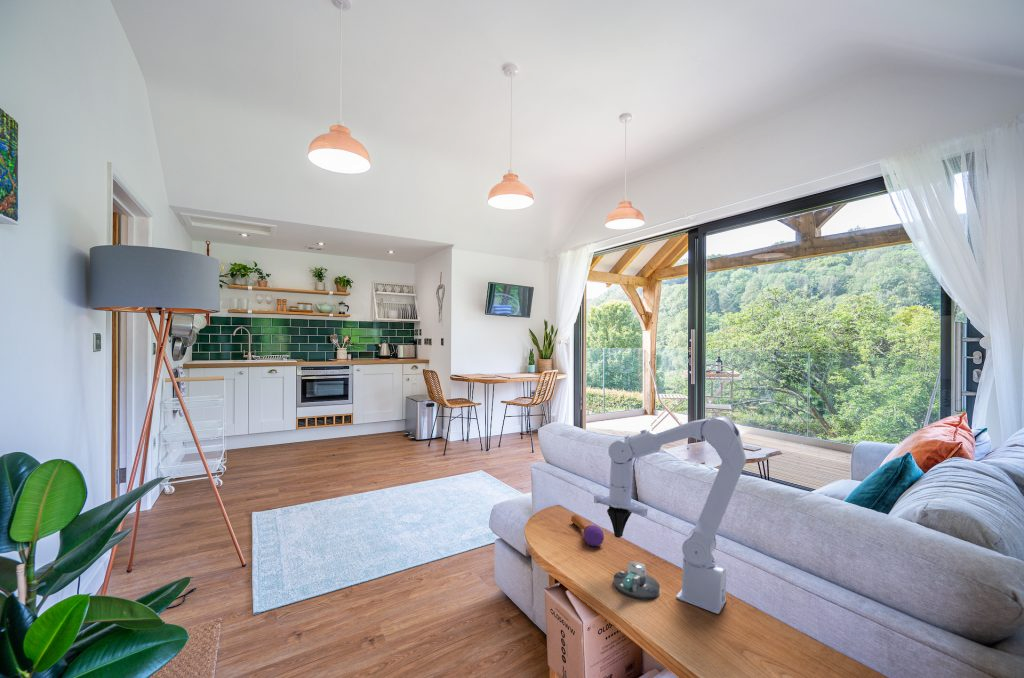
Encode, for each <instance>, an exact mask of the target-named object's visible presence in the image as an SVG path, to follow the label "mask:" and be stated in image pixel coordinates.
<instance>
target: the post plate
mask: <svg viewBox="0 0 1024 678" xmlns="http://www.w3.org/2000/svg"><path fill="white" fill-rule="evenodd" d="M627 574H628V570H620V571H618V572H616V573H615V574H614V576H613V586H614V588H615V590H616V591H617V592H619V593H620V594H622V596H625V597H628V598H630V599H634V600H638V601H639V600H640V601H652V600H654V599H656V598H658V597H659V596H660V590H661V589H660V583H659V582H658V581H657V579H655V578H654V577H652V576H650V575H649V574H646V583H645V584H643V585H640V576H638V575H636V576H635V577H634V578H633V586H632V588H631V590H625V589H623V580H624V578H626V577H627Z"/></svg>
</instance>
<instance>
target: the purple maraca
mask: <svg viewBox="0 0 1024 678" xmlns="http://www.w3.org/2000/svg"><path fill="white" fill-rule="evenodd" d="M570 521H572V522H573V523H574V524H575V525H574V524H573V523H572V522H571V523H572V524H573V525H574V526H576V525H577V526H576V527H578V528H580V529H581V530H583V538H584V541H585V543H586V544H587V545H589V546H590V545H591V546H590V547H593V546H596V547H599V546H601V545H602V544H603V543H604V539H605V535H604V531H603V530H602V529H601V527H600V526H598V525H595V524H592V525H586V523H585V522H584V521H583V520H582V518H581V517H580V515H578V514H573V515H572V516H571V517H570Z"/></svg>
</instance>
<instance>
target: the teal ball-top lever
mask: <svg viewBox="0 0 1024 678" xmlns="http://www.w3.org/2000/svg"><path fill="white" fill-rule="evenodd" d="M627 571H628V574H627V577H626V578H624V580H623V589H625V590H631V588H632V586H633V578H634V577H635V576H636V575H638V576H640V585H643V584H645V583H646V575H647V565H646V564H644V563H643V562H639V561H632V560H631V561H629V562H628V563H627Z"/></svg>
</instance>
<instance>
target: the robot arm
mask: <svg viewBox="0 0 1024 678" xmlns="http://www.w3.org/2000/svg"><path fill="white" fill-rule="evenodd" d="M690 438H693V439H695V440H698V441H702V440H705V441H706V442H707V443H708V444H709V445H710V446H711V447H712V448H713V449H715V452H716V453H717V454H718V456H719V458H720V460H721V464H720V466H719V468H718V471H717V474H716V476H715V478H714V481H713V483H712V485H711V488H710V491H709V493H708V495H707V498H706V501H705V503H704V506H703V508H702V510H701V512H700V515H699V517H698V519H697V522H696V524H695V527H694V528H692V529H691V530H690V532H689V534H688V536H687V538H686V539H685V540H684V542H683V543H682V546H681V551H682V554H683V555H682V577H681V580H682V583H681V589H680V591H679V592H678V593H677V594H676V595H675V598H676V599H678V600H680V601H682V602H685V603H688V604H689V605H690V604H691V605H692V606H695V607H698V608H701V609H704V610H706V611H709V612H711V613H713V614H717V615H719V614H720V612H721V611H722V609H723V607H724V605H725V603H726V601H727V599H726V596H727V595H726V594H727V571H726V569H725V568H724V567H721V566H719V565H717V564H716V562H717V561H716V559H715V557H714V556H713V552H714V551H715V549H716V547H717V539H716V538H717V537H716V536H717V533H718V530H719V528H720V525H721V522H722V520H723V518H724V515H725V513H726V511H727V508H728V505H729V504H730V501H731V498H732V496H733V495H734V493H735V492H734V491H735V489H736V486H737V484H738V481H739V480H740V477H741V474H742V472H743V470H744V467H745V465H746V463H747V462H746V461H747V457H746V453H745V449H744V446H743V442H742V439H741V433H740V430H739V429H738V427H737V426H736V424H735V423H734V422H733V421H732V419H730V418H729V417H726V416H723V415H718V416H715V417H712V418H711V419H710V417H708V418H707V417H706V418H702V419H701V418H700V419H696V420H692V421H689V422H686V423H684V424H680V425H678V426H675V427H673V428H669V429H666V430H663V431H661V432H655V431H654V430H650V429H649V430H647V428H646V429H642V430H640V433H638V434H635V435H631V436H629V435H626V436H624V438H622V439H619V440H615V441H613V442H612V443H611V444H610V445H609V447H608V456H609V458H610V470H609V471H610V473H609V474H610V476H609V477H610V478H609V495H602V494H598V493H597V494H595V495H593V503H594V504H600V505H604V506H608V508H607V509H606V512H607V515H608V517H609V519H610V522H611V525H612V529H613V534H614V537H615V538H618V539H620V538H622V537H623V536H624V535H623V534H624V530H625V527H626V524H627V522H628V520H629V518H630V516H631V515H632V513H633V514H637V515H640V516H641V517H646V516H648V509H649V508H648V507H646V506H643V505H640V504H639V503H635V502H633V501H632V489H633V486H632V485H633V459H638V458H639V459H640V458H641V457H645V456H648V455H652V454H655V453H658V452H660V450H661V447H662V445H664V446H665V445H667V444H670V443H674V442H678V441H681V440H687V439H690Z"/></svg>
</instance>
